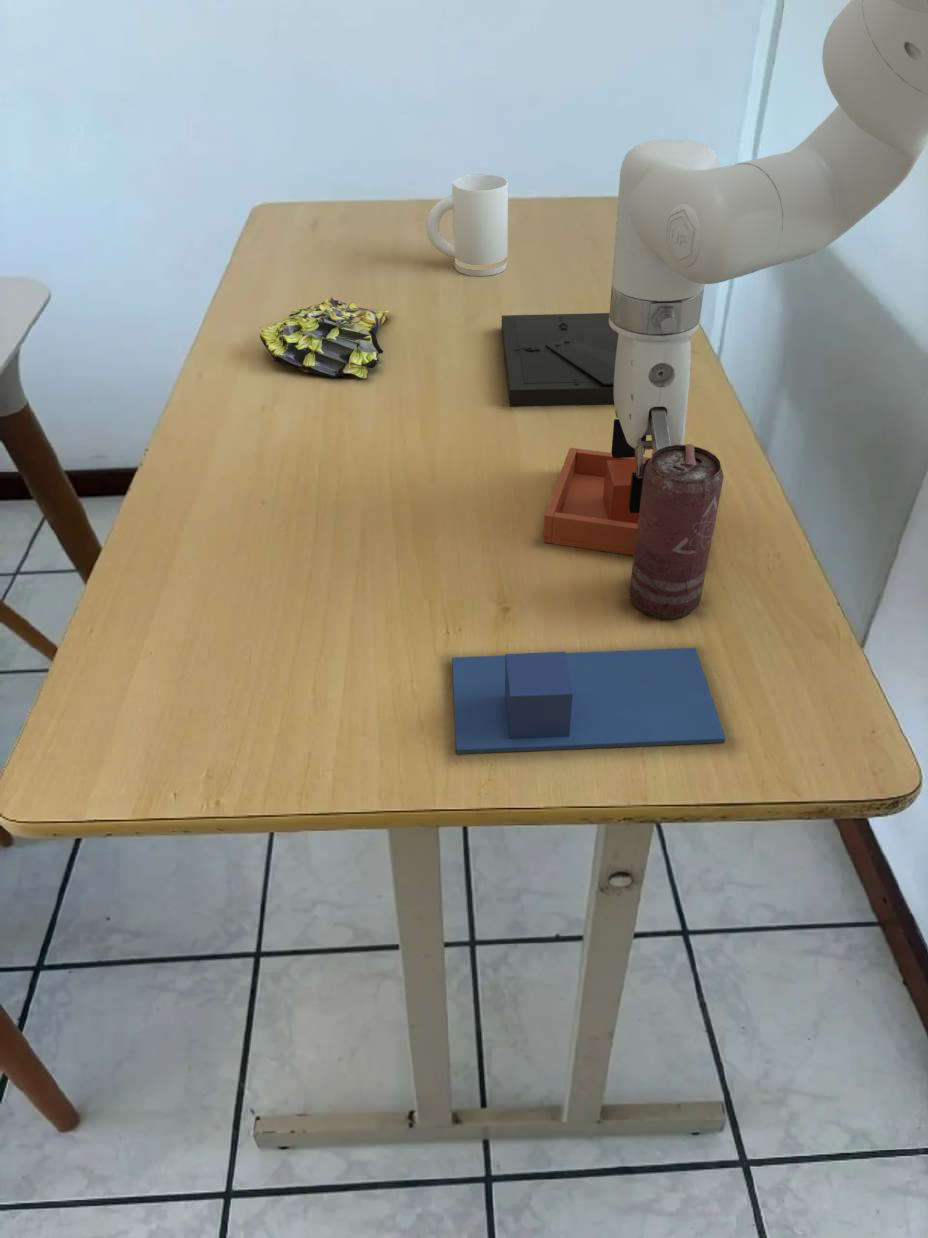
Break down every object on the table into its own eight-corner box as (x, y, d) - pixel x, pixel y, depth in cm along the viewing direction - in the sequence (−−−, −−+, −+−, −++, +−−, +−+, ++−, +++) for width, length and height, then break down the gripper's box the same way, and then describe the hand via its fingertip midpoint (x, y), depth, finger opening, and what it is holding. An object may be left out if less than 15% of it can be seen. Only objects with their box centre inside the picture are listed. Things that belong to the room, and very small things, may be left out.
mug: (427, 258, 147) (423, 175, 139) (504, 255, 147) (505, 172, 140) (429, 278, 141) (425, 193, 133) (509, 275, 141) (510, 189, 133)
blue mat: (694, 652, 79) (695, 647, 78) (724, 743, 71) (726, 738, 71) (452, 661, 78) (451, 657, 78) (456, 754, 71) (456, 749, 70)
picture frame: (645, 403, 111) (620, 327, 127) (648, 380, 109) (622, 306, 125) (509, 406, 111) (501, 330, 127) (510, 383, 109) (501, 309, 125)
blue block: (562, 693, 75) (565, 651, 72) (569, 736, 71) (573, 693, 68) (504, 696, 75) (505, 653, 72) (509, 739, 71) (510, 696, 68)
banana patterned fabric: (311, 311, 134) (321, 266, 131) (416, 357, 133) (429, 312, 129) (239, 349, 118) (247, 299, 114) (358, 402, 116) (370, 352, 113)
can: (696, 577, 86) (720, 440, 77) (702, 623, 81) (729, 483, 72) (627, 574, 87) (644, 438, 78) (630, 619, 82) (648, 480, 73)
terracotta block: (647, 497, 95) (652, 458, 92) (656, 523, 92) (662, 483, 89) (602, 499, 95) (606, 459, 92) (609, 525, 92) (613, 485, 89)
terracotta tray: (710, 492, 97) (715, 465, 95) (699, 565, 88) (704, 538, 86) (568, 473, 100) (569, 447, 98) (543, 542, 91) (544, 515, 89)
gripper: (726, 348, 73) (696, 533, 84) (678, 267, 86) (657, 435, 97) (628, 352, 73) (611, 536, 84) (595, 270, 86) (584, 438, 97)
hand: (636, 482), depth 91 cm, fingers open, 9 cm apart
